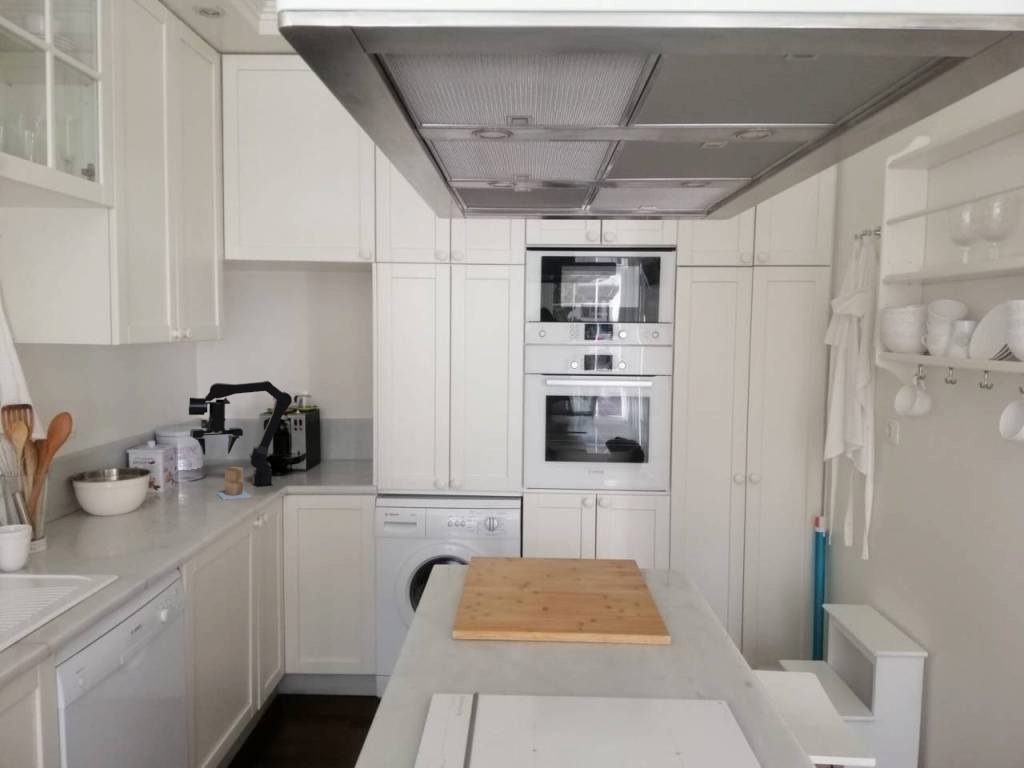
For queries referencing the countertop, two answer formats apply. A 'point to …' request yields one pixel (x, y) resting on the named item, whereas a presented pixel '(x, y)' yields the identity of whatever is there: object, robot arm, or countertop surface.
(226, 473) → the tan wooden block
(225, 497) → the light blue square tile
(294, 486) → the countertop surface
